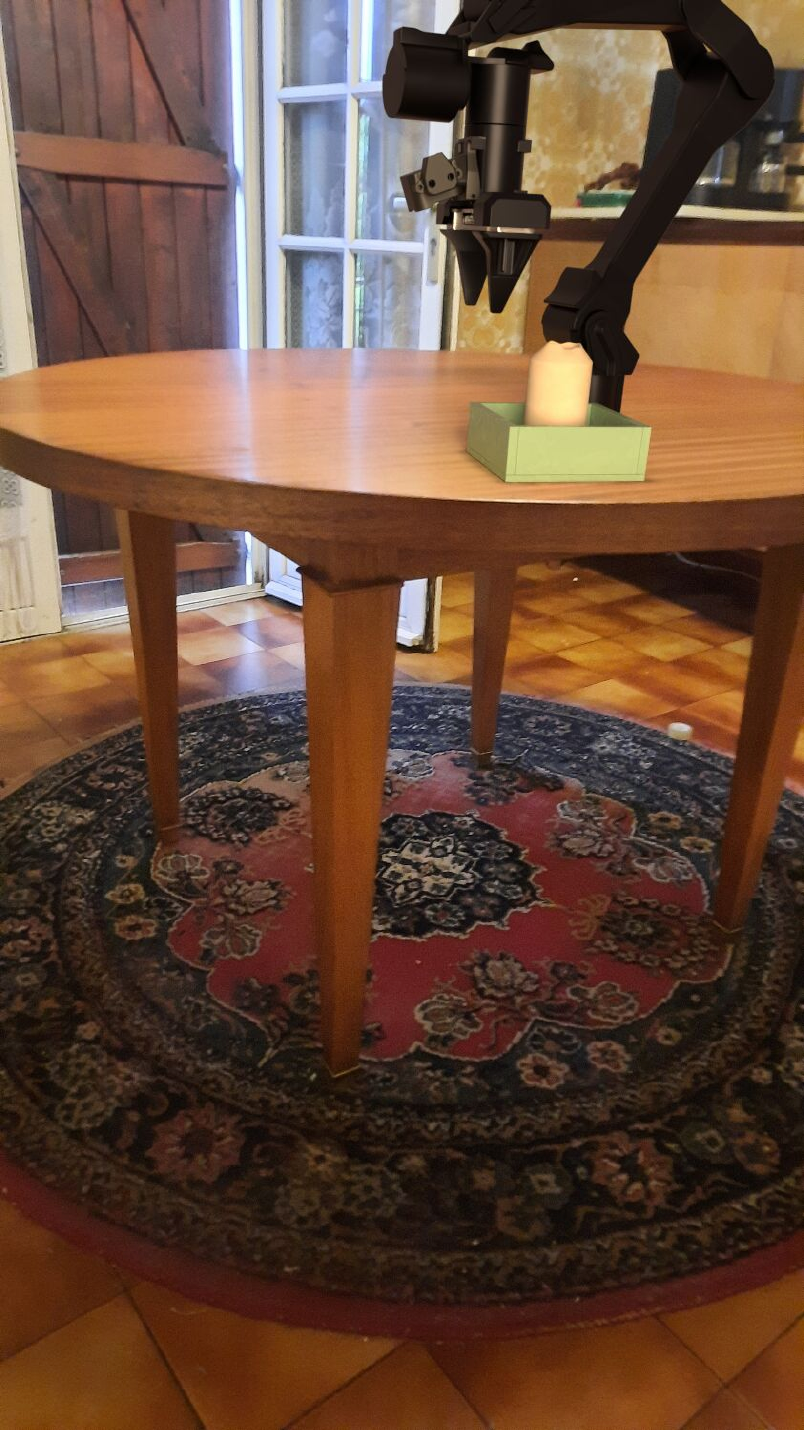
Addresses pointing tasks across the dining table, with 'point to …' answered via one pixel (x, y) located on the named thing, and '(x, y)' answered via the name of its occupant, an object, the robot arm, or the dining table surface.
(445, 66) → the robot arm
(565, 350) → the candle
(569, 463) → the green open tray
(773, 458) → the dining table surface
